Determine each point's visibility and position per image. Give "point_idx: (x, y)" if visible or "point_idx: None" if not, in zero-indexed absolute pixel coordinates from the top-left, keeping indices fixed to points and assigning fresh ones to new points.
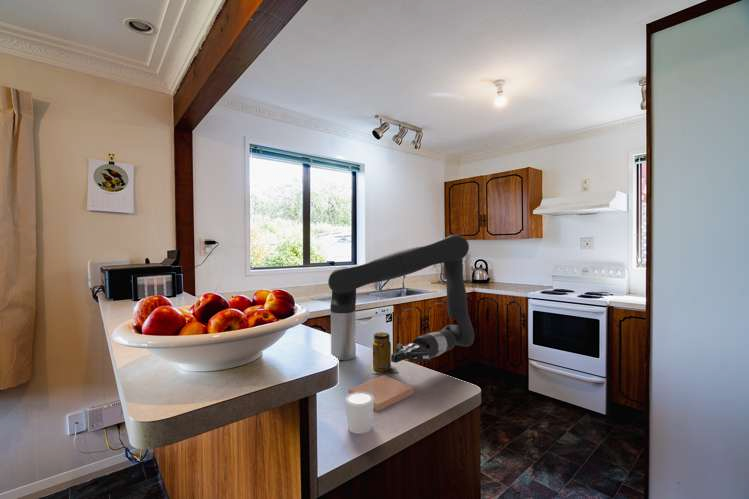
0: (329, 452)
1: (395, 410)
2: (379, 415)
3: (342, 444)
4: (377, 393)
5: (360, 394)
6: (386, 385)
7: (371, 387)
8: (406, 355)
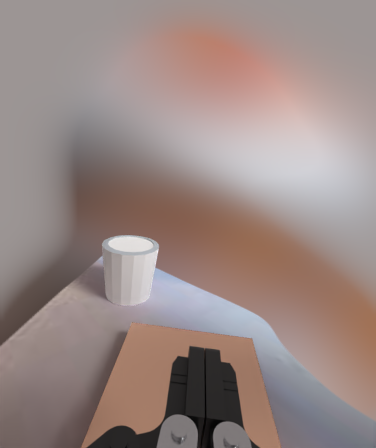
0: None
1: (87, 360)
2: (116, 328)
3: None
4: (170, 358)
5: (140, 250)
6: None
7: None
8: (153, 436)
